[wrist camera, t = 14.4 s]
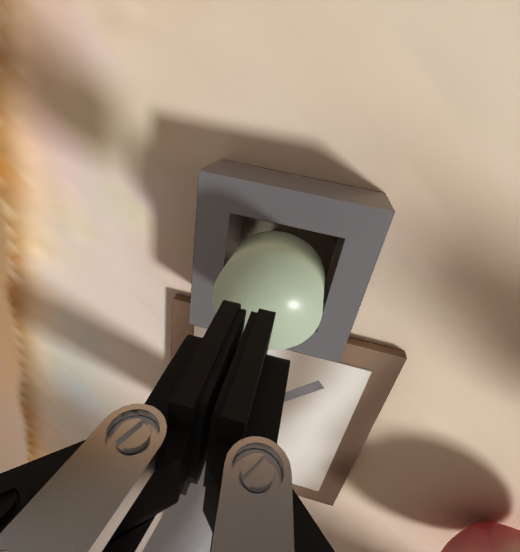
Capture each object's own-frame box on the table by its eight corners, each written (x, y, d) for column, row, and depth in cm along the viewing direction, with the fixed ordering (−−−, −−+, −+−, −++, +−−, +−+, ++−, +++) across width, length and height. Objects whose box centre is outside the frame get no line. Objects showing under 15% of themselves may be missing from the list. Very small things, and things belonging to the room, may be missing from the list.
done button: (336, 243, 14) (336, 270, 12) (312, 325, 16) (308, 360, 14) (235, 221, 14) (217, 242, 12) (225, 304, 16) (208, 334, 14)
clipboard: (404, 351, 19) (408, 364, 18) (332, 498, 27) (332, 512, 26) (177, 293, 21) (169, 303, 20) (171, 449, 28) (165, 461, 27)
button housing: (385, 193, 15) (394, 211, 13) (338, 327, 19) (338, 362, 17) (221, 159, 16) (199, 170, 14) (208, 294, 20) (189, 323, 18)
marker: (252, 408, 23) (182, 662, 13) (244, 444, 25) (178, 689, 15) (196, 392, 23) (83, 626, 13) (192, 429, 25) (93, 657, 15)
